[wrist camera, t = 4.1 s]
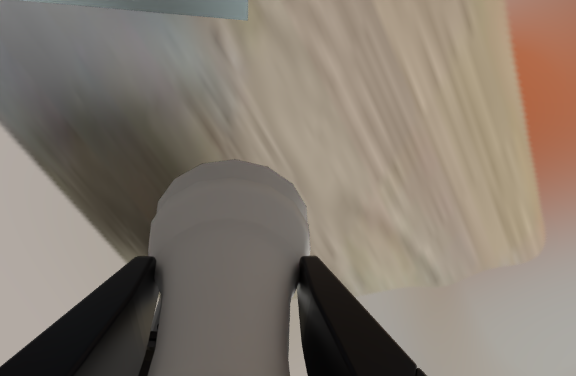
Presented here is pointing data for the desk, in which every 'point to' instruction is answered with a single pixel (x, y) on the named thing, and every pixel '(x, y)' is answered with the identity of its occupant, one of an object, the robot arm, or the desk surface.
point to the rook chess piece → (227, 270)
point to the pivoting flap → (170, 6)
